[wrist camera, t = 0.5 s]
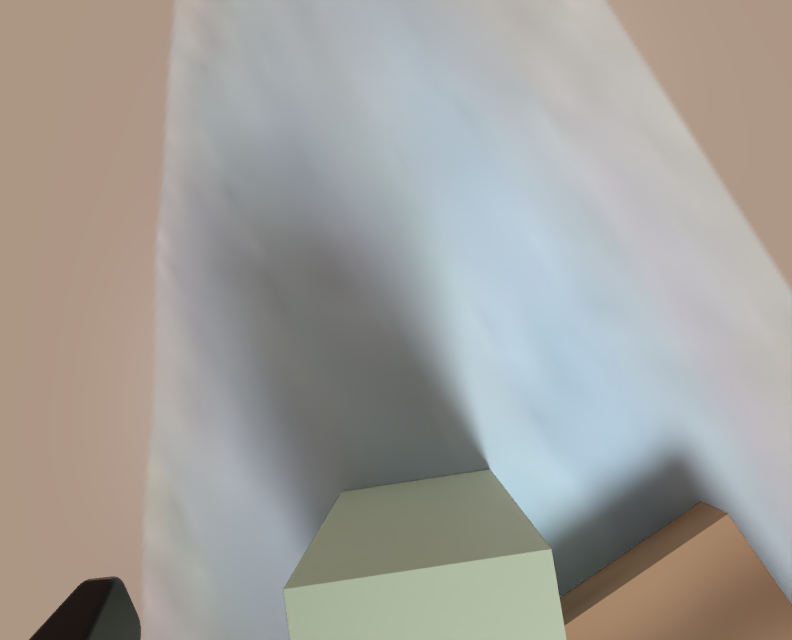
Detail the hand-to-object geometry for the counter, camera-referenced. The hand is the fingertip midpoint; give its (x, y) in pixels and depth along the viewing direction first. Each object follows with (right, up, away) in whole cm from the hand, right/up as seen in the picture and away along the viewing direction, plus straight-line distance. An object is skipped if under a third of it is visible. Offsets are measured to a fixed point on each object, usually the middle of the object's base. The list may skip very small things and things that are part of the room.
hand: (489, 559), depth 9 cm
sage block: (0, -5, +15) cm, 16 cm away
